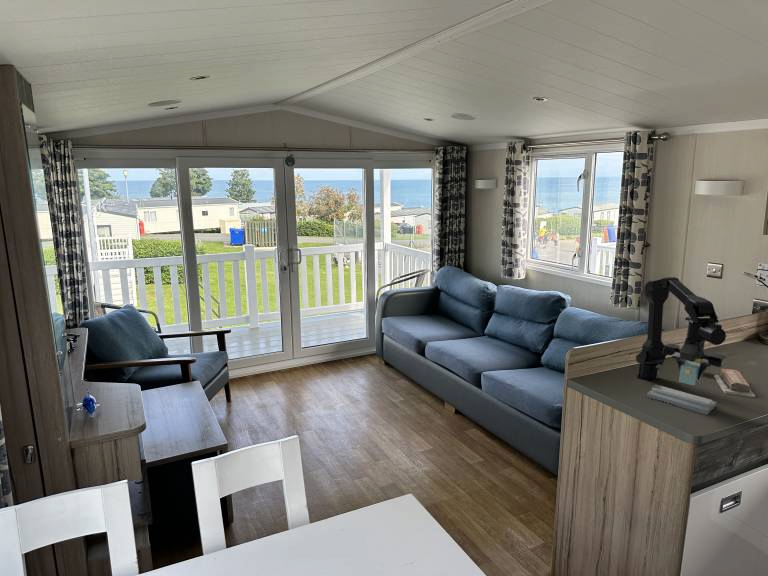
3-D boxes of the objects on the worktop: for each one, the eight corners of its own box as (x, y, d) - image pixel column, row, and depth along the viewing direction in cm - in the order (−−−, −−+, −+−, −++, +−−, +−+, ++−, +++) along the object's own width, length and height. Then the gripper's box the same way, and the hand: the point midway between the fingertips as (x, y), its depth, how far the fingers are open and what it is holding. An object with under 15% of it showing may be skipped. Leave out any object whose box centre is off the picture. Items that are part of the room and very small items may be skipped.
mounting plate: (646, 397, 198) (647, 393, 198) (656, 389, 205) (657, 385, 205) (707, 414, 184) (707, 410, 184) (715, 406, 191) (716, 402, 191)
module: (677, 382, 190) (680, 366, 189) (685, 376, 196) (687, 360, 194) (693, 386, 187) (695, 370, 185) (700, 380, 192) (702, 364, 191)
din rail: (651, 391, 200) (652, 387, 199) (655, 388, 202) (655, 384, 202) (708, 407, 186) (709, 403, 186) (712, 404, 189) (712, 400, 189)
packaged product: (715, 366, 218) (743, 369, 214) (713, 377, 219) (741, 381, 215) (726, 382, 201) (757, 386, 198) (724, 394, 202) (755, 398, 199)
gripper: (659, 334, 189) (654, 376, 192) (719, 347, 176) (712, 391, 179) (670, 328, 196) (665, 368, 200) (729, 340, 183) (722, 382, 187)
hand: (690, 377), depth 191 cm, fingers closed on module, 5 cm apart
